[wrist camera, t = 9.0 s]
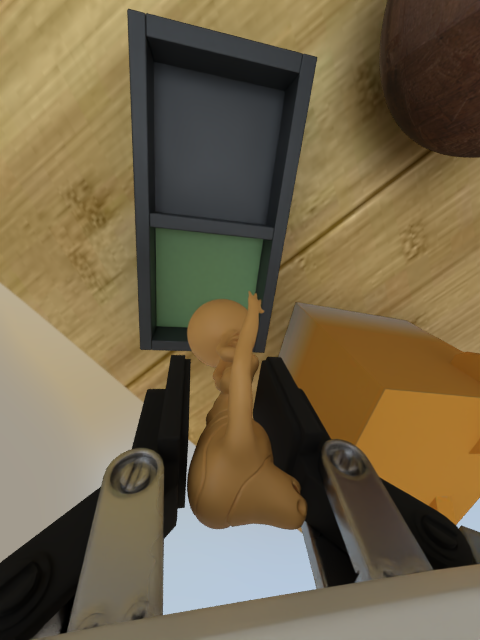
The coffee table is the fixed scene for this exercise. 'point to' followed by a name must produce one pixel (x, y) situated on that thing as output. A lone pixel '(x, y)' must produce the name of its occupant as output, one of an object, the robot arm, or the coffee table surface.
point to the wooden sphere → (433, 72)
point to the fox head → (393, 399)
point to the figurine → (236, 429)
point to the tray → (210, 169)
